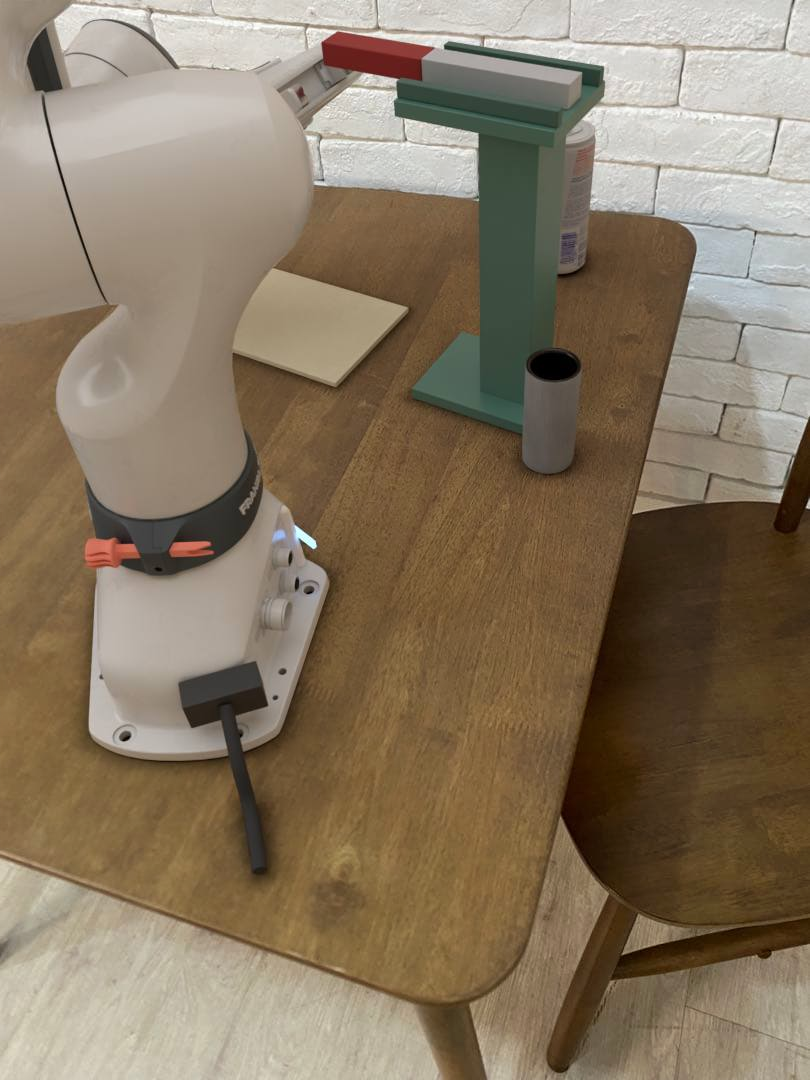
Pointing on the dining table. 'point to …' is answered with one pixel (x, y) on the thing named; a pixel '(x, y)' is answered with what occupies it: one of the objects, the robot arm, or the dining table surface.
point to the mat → (312, 326)
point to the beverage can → (576, 196)
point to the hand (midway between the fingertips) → (333, 72)
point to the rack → (504, 232)
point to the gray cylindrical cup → (550, 409)
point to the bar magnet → (452, 69)
